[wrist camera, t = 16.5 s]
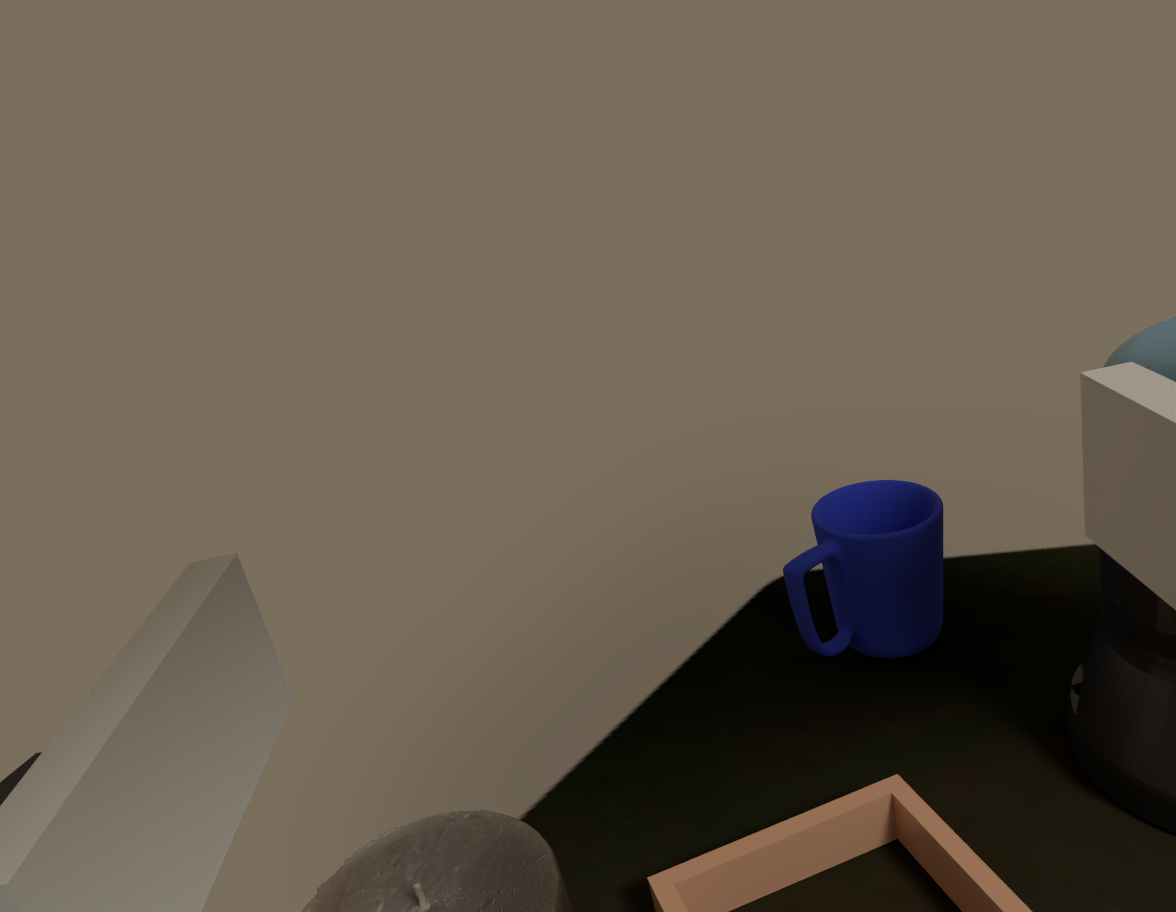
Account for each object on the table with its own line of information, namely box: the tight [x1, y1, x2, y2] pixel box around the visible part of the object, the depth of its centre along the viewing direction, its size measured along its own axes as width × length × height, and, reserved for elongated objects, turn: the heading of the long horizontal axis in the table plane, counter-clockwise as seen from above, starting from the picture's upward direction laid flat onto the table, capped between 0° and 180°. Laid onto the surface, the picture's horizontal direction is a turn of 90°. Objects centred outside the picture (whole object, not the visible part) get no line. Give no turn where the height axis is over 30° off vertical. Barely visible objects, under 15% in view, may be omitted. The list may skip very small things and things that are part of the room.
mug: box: [783, 480, 943, 658], centre depth 63 cm, size 8×12×10 cm
